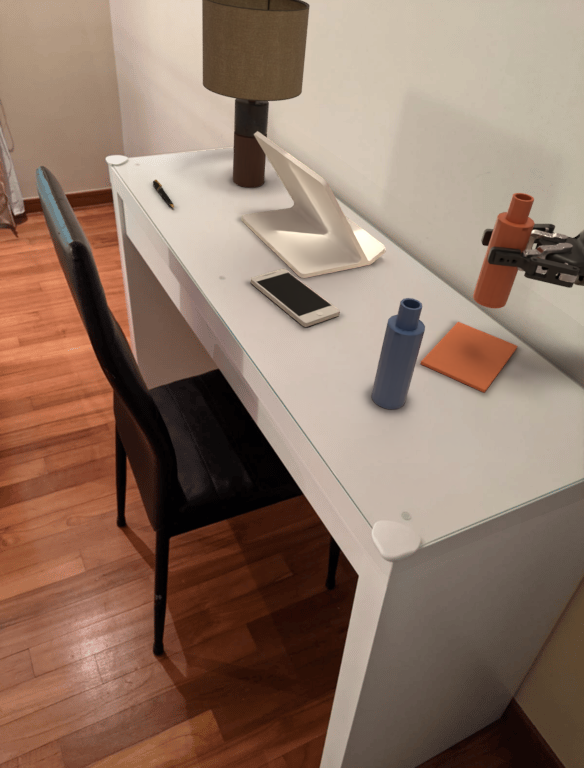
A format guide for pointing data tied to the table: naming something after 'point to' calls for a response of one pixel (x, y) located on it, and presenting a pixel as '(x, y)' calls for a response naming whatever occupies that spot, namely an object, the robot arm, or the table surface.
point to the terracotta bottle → (508, 234)
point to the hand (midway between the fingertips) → (486, 245)
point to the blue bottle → (398, 355)
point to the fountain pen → (162, 192)
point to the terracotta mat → (469, 356)
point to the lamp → (253, 68)
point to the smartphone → (295, 297)
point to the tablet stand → (310, 222)
